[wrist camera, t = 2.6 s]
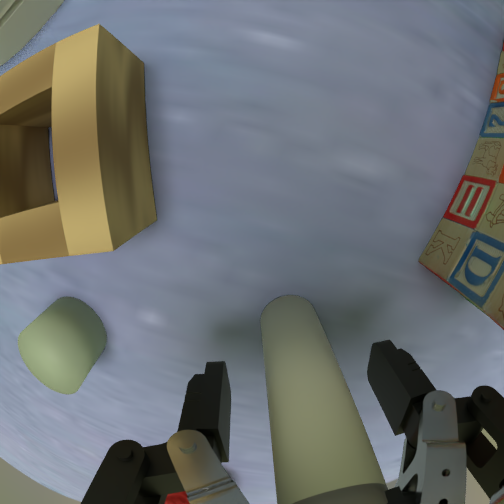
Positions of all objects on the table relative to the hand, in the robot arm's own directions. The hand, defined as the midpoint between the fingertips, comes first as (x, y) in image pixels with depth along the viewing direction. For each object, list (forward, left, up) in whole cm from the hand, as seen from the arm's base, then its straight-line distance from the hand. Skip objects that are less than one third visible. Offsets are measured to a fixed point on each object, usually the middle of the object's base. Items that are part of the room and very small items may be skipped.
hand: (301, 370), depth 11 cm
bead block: (-10, -10, -4) cm, 15 cm away
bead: (0, -13, -4) cm, 14 cm away
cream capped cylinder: (0, 0, -4) cm, 4 cm away
